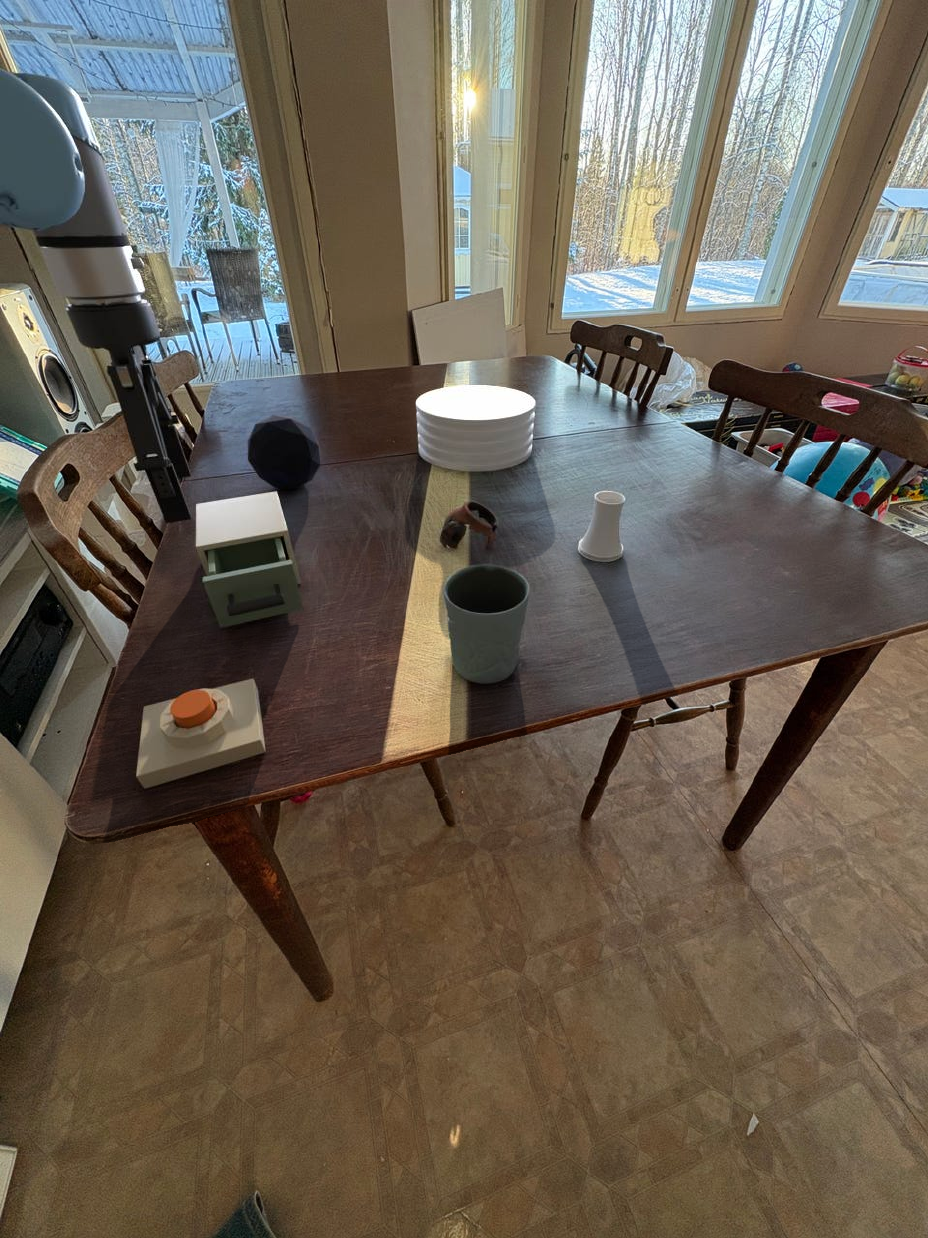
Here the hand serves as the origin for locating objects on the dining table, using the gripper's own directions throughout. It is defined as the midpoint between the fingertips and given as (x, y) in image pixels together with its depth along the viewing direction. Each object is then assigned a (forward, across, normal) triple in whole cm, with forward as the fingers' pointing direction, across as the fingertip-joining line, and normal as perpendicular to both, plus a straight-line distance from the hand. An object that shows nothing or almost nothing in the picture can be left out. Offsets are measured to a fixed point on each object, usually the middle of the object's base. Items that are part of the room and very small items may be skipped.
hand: (179, 497), depth 64 cm
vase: (+18, -8, -62) cm, 65 cm away
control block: (+18, -24, +3) cm, 30 cm away
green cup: (+18, -25, -31) cm, 44 cm away
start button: (+15, -24, +3) cm, 28 cm away
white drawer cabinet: (+18, +10, -6) cm, 22 cm away
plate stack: (+18, +45, -61) cm, 78 cm away
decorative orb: (+18, +42, -16) cm, 49 cm away
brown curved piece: (+18, +4, -41) cm, 45 cm away
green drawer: (+17, -1, -6) cm, 18 cm away
